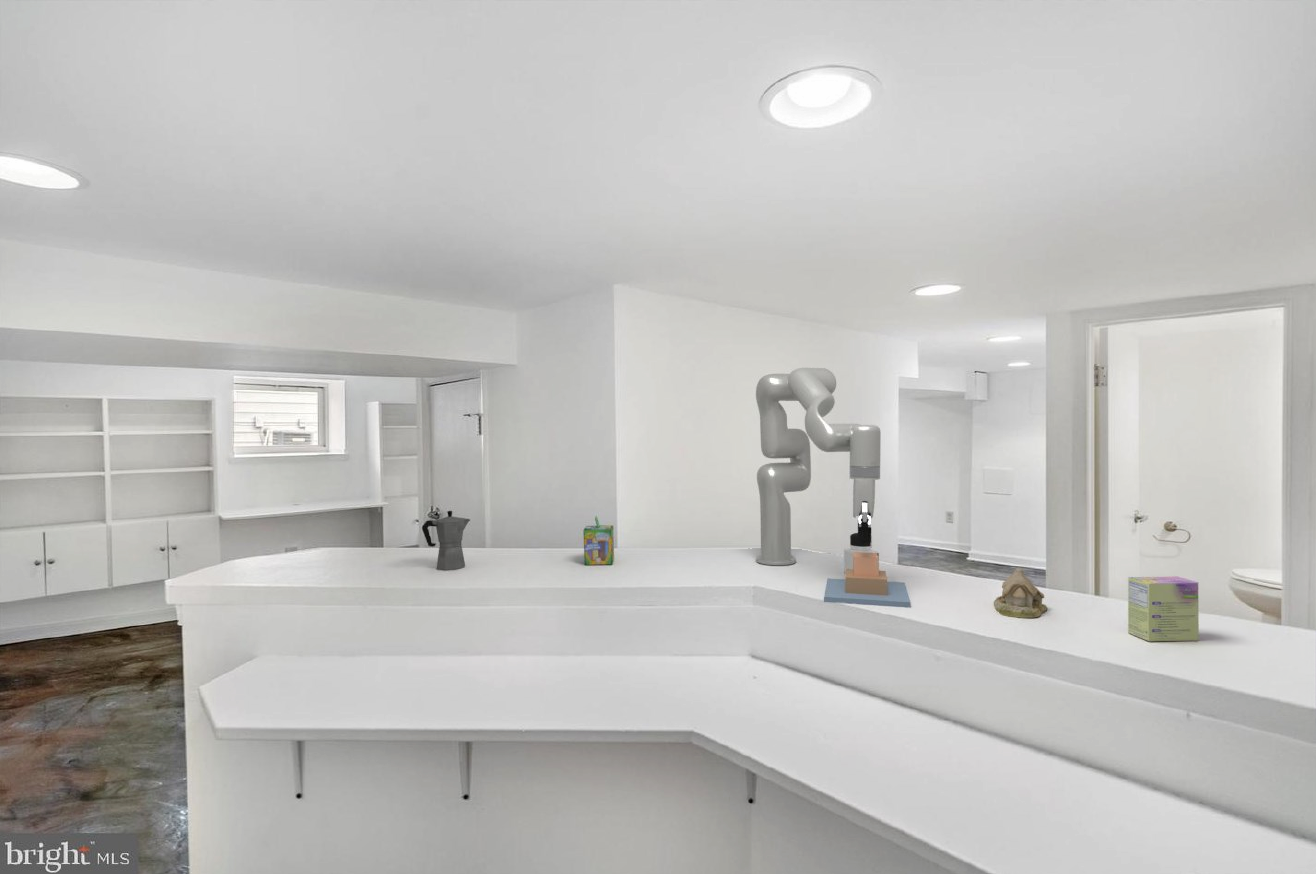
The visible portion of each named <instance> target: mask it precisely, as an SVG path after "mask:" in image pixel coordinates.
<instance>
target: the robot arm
mask: <svg viewBox="0 0 1316 874" xmlns="http://www.w3.org/2000/svg"><path fill="white" fill-rule="evenodd" d="M836 387H837V378H836V376H835V374H834V373H833V371H831V370H830V369H828V368H825V367H824V368H822V367H799V368H795V369H794V370H792V371H791V372H789V373H770V374H765V375H764V376H762V377H761V378H760V379H759V380H758V382H757V385H756V388H755V400H756V404H757V408H758V413H759V428H760V429H759V430H760V431H759V432H760V433H759V434H760V448H761V449H760V450H761V454H762V455H763V456H764V457H765V458H767V459H776V460H777V459H789V461H790V462H768V463H765V464H763V465H761V466H760V467H759V468H758V470H757V472H756V481H757V487H758V492H759V507H760V508H759V512H760V513H759V514H760V555H757V556H756V557H755V562H757V563H759V564H761V565H768V566H789V565H794V564H795V563H797V558H796V557H795V556H794V555H793V556H792V546H791V545H792V533H791V532H792V531H791V530H792V529H791V523H792V522H791V520H792V519H791V518H792V516H791V514H792V513H791V510H792V509H791V504H790V502H789V500H788V498H787V497H786V495H785V494H784V493H795V492H796V493H797V492H803V491H806V490H807V489H808V488H809V486H810V485H811V478H812V467H811V463H812V462H811V460H812V459H811V443H810V440H811V441H812V443H813V444H814V445H815V446H816V448H817V449H819V450H821V451H822V452H825V453H841V452H845V453H846V452H847V453H848V452H849V479H851V480H853V485H852V487H853V488H852V489H853V490H852V517H853V518H855V519H856V518H857V517H858V519H857V533H858V542H859V543H871V536H872V527H871V519H872V518H874V511H875V499H876V497H875V496H876V480H880V479H881V442H882V441H881V429H880V427H879V425H874V424H861V423H860V424H859V423H828V422H827V421H825V420H824V417H825V416H827V415H828V414H829V413H830V412H832V409H834V406H835V397H834V395H833V393H834V392H835V390H836V389H837V388H836ZM782 401H783V402H784V401H785V402H798V403H799V404H800V405H801V407H802V408H803V409H804V410H805V411H806V412H805V416H804V428H805V431H804V430H802V429H801V428H800V429H799V428H788V427H789V426H788V415H787V413H786V410H785V408H784V407H783V405H782V404H781V403H780V402H782Z"/></svg>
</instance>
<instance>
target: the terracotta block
mask: <svg viewBox="0 0 1316 874" xmlns="http://www.w3.org/2000/svg"><path fill="white" fill-rule="evenodd" d="M879 570H880V568H878V554H877V553H868V552H853V574H854V576H864V577H879Z"/></svg>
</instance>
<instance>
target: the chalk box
mask: <svg viewBox="0 0 1316 874" xmlns="http://www.w3.org/2000/svg"><path fill="white" fill-rule="evenodd" d="M594 521H595V524H596V525H586V526H585V527H584V529H583V530H582V531H583V549H584V550H583V551H584V552H583V553H584V554H583V555H584V566H597V565H599V566H600V565H601V566H603V565H609V566H610V565H611V566H612V565H613V564H614V561H615V546H614V545H615V543H614V542H615V541H614V537H615V536H614V535H615V533H614V532H615V531H614V525H613V524H612V525H605V524H603V525H601V524H600V522H599V519H598V517H597V515H596V516H595V517H594Z"/></svg>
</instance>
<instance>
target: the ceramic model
mask: <svg viewBox="0 0 1316 874" xmlns="http://www.w3.org/2000/svg"><path fill="white" fill-rule="evenodd" d="M1001 588H1002V593H1001V595H999V596H997V597H996V598H995V600H994V601H993V606H994V609H995V611H996V612H997V611H998V612H999V613H998V612H997V613H998V614H999V615H1002V616H1006V617H1012V618H1023V619H1025V618H1026V619H1029V618H1037V617H1040V616H1042V614H1043V613H1044V612H1047V611H1048V606H1047V605H1046V604H1045V603H1044V604H1043V599H1044V598H1045V594H1044V593H1043V592H1041V591H1040V590H1039V589H1038V588H1037V587H1036V586H1035V585H1034V584H1033V583H1032V582H1031V580H1030V579H1029V578H1028V577H1027V575H1025V573H1024V569H1023V567H1016V569H1015V570H1014V571H1013V572H1012V573H1011V575H1010V576H1009V577H1008V578H1007V579H1005V581H1003V582H1002V585H1001Z"/></svg>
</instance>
